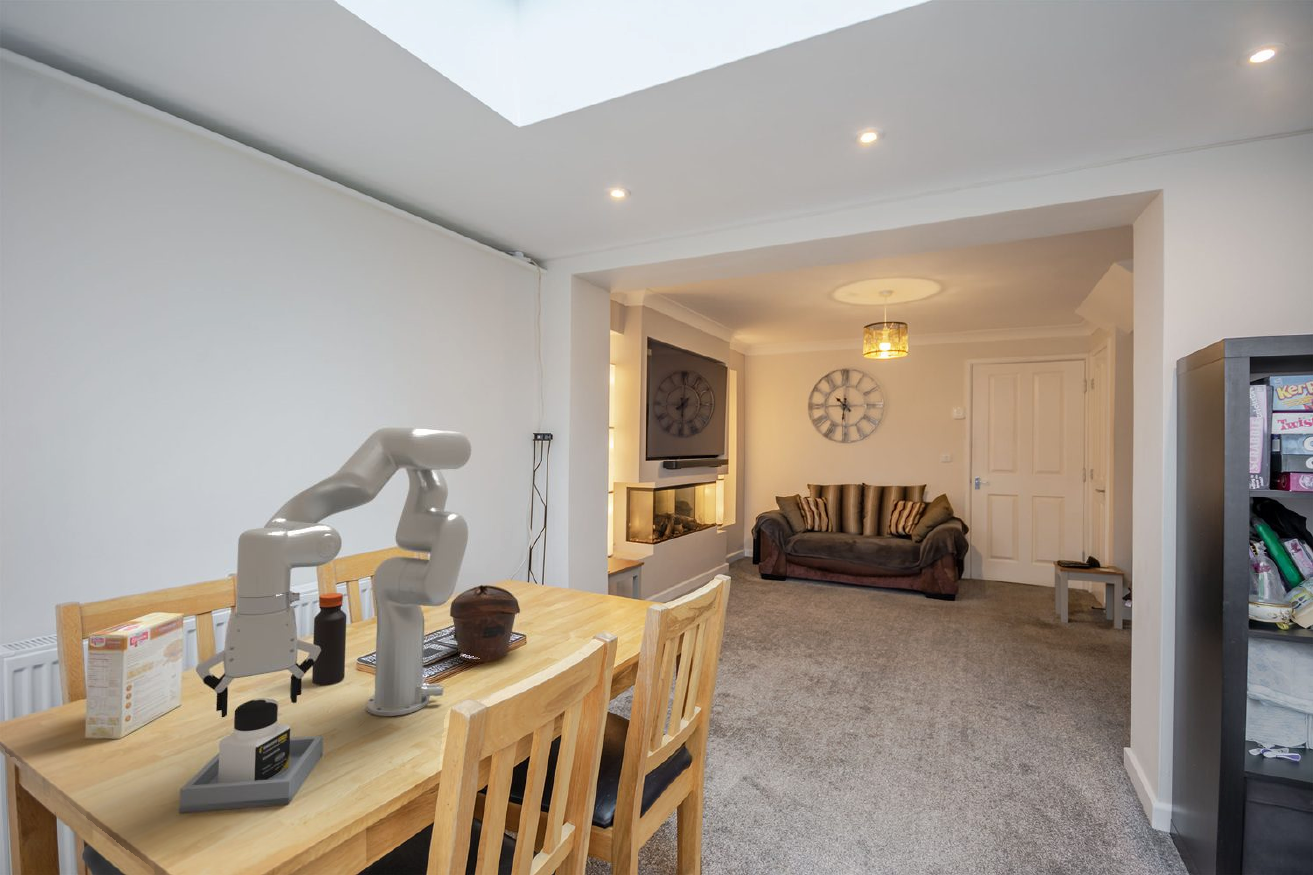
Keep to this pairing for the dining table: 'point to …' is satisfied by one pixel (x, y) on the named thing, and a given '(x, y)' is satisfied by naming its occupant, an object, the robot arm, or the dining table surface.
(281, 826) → the dining table surface
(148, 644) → the coffeecake box
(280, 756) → the medicine bottle
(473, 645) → the brown lidded pot
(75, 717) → the dining table surface
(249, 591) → the robot arm
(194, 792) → the grey tray
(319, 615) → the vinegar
